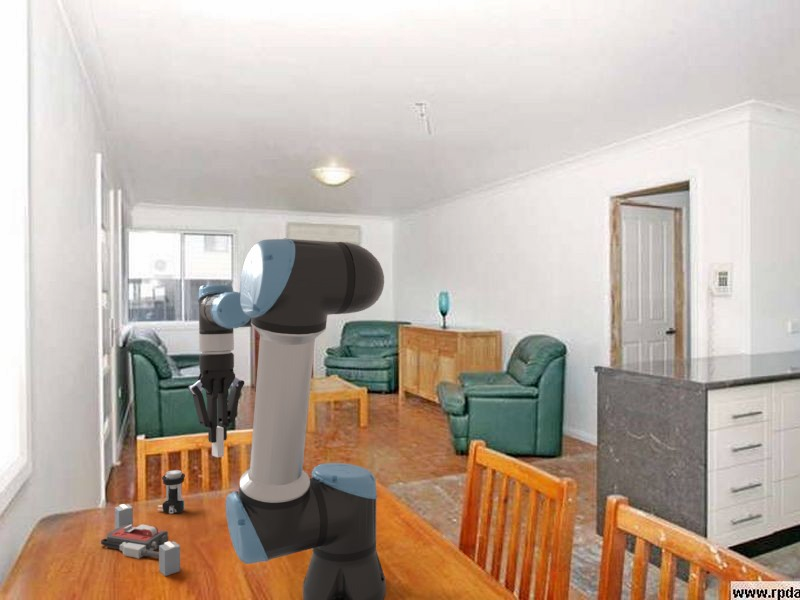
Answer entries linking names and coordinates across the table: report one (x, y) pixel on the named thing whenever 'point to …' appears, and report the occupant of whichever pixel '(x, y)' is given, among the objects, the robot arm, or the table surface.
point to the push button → (173, 492)
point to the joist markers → (167, 551)
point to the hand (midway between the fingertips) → (217, 455)
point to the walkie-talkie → (136, 540)
